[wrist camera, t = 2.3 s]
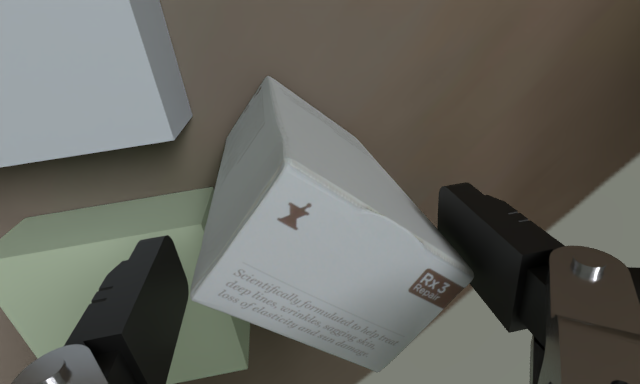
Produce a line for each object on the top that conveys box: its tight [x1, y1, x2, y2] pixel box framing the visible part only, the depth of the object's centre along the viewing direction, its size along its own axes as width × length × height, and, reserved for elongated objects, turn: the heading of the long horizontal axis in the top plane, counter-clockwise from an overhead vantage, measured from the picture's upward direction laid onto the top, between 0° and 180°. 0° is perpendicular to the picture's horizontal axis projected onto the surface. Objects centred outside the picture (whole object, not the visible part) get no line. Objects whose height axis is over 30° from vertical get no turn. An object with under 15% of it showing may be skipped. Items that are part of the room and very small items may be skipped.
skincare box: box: [190, 76, 474, 372], centre depth 14 cm, size 6×4×12 cm
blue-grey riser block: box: [0, 0, 193, 167], centre depth 13 cm, size 10×10×4 cm
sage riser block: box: [0, 187, 250, 384], centre depth 20 cm, size 10×10×4 cm
